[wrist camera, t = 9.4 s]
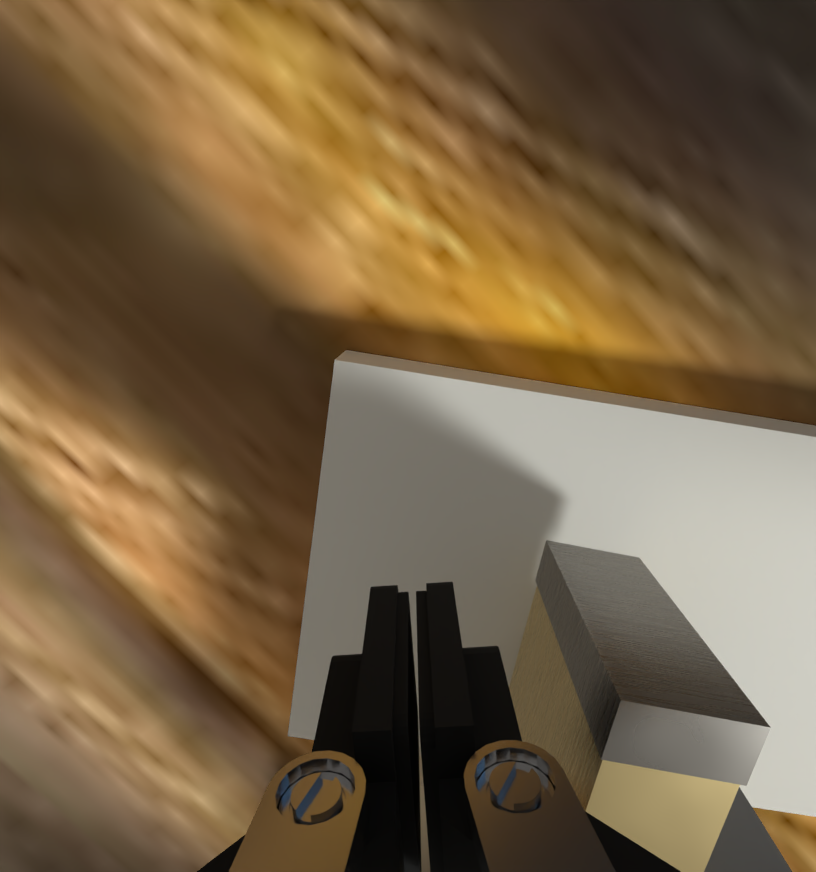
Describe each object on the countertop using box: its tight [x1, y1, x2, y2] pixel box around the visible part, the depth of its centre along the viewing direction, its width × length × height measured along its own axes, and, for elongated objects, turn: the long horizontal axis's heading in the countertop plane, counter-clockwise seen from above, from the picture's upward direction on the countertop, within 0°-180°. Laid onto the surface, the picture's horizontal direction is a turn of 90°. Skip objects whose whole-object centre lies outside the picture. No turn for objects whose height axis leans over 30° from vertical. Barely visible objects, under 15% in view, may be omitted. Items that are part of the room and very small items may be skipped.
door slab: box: [288, 350, 816, 872], centre depth 13 cm, size 10×15×8 cm
